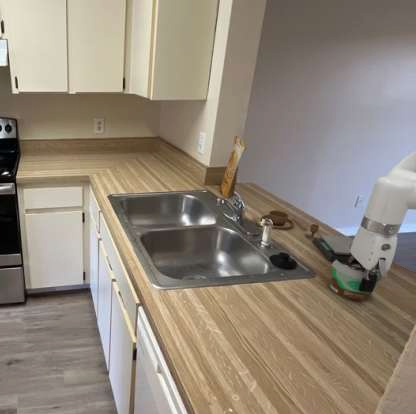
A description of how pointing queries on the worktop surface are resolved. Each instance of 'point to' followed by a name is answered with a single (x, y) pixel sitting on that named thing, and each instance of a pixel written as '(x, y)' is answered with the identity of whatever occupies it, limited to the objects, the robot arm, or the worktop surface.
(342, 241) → the pan
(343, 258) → the scale
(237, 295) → the worktop surface
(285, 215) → the place setting
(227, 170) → the pancake mix bag
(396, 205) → the robot arm
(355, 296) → the food container
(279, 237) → the worktop surface
